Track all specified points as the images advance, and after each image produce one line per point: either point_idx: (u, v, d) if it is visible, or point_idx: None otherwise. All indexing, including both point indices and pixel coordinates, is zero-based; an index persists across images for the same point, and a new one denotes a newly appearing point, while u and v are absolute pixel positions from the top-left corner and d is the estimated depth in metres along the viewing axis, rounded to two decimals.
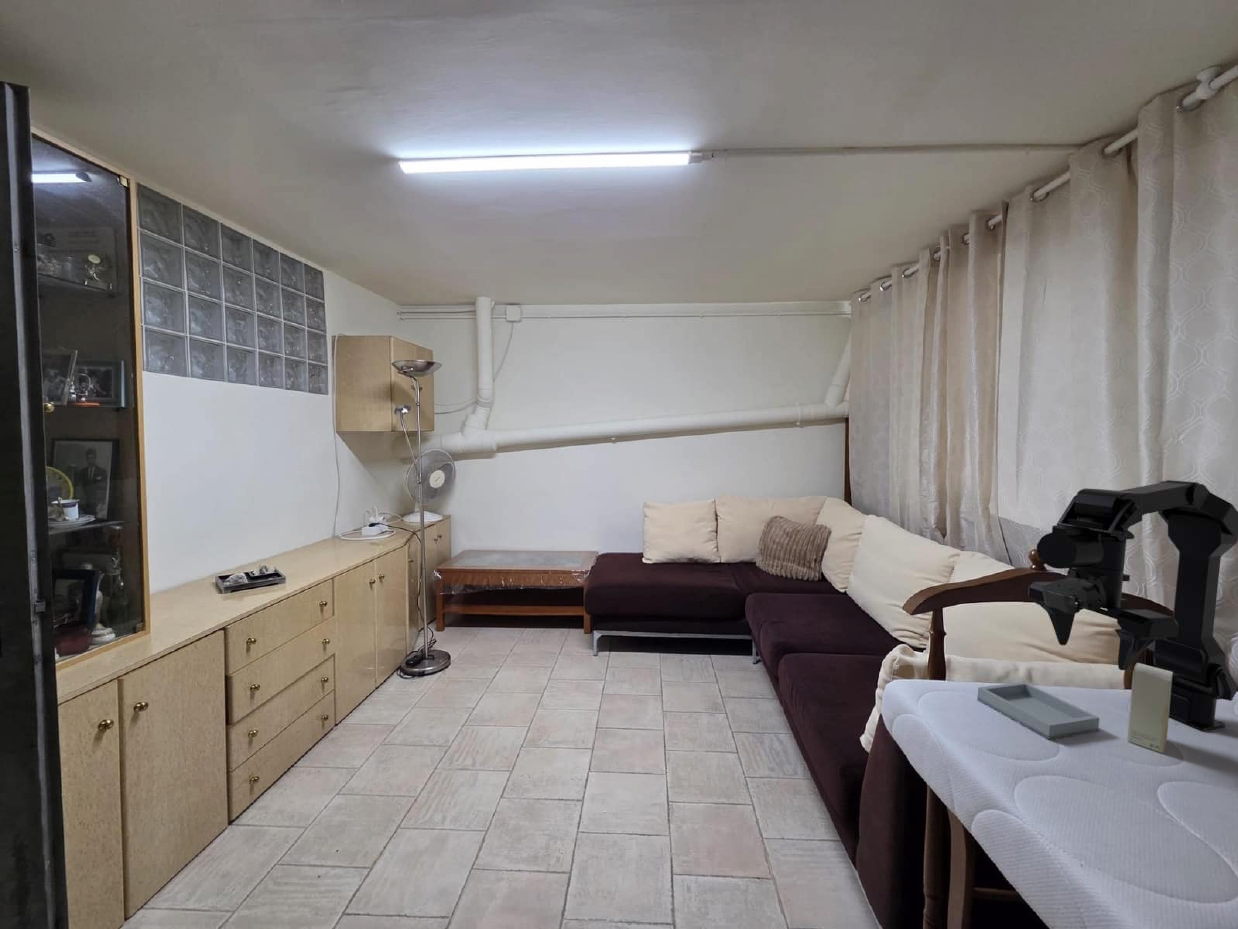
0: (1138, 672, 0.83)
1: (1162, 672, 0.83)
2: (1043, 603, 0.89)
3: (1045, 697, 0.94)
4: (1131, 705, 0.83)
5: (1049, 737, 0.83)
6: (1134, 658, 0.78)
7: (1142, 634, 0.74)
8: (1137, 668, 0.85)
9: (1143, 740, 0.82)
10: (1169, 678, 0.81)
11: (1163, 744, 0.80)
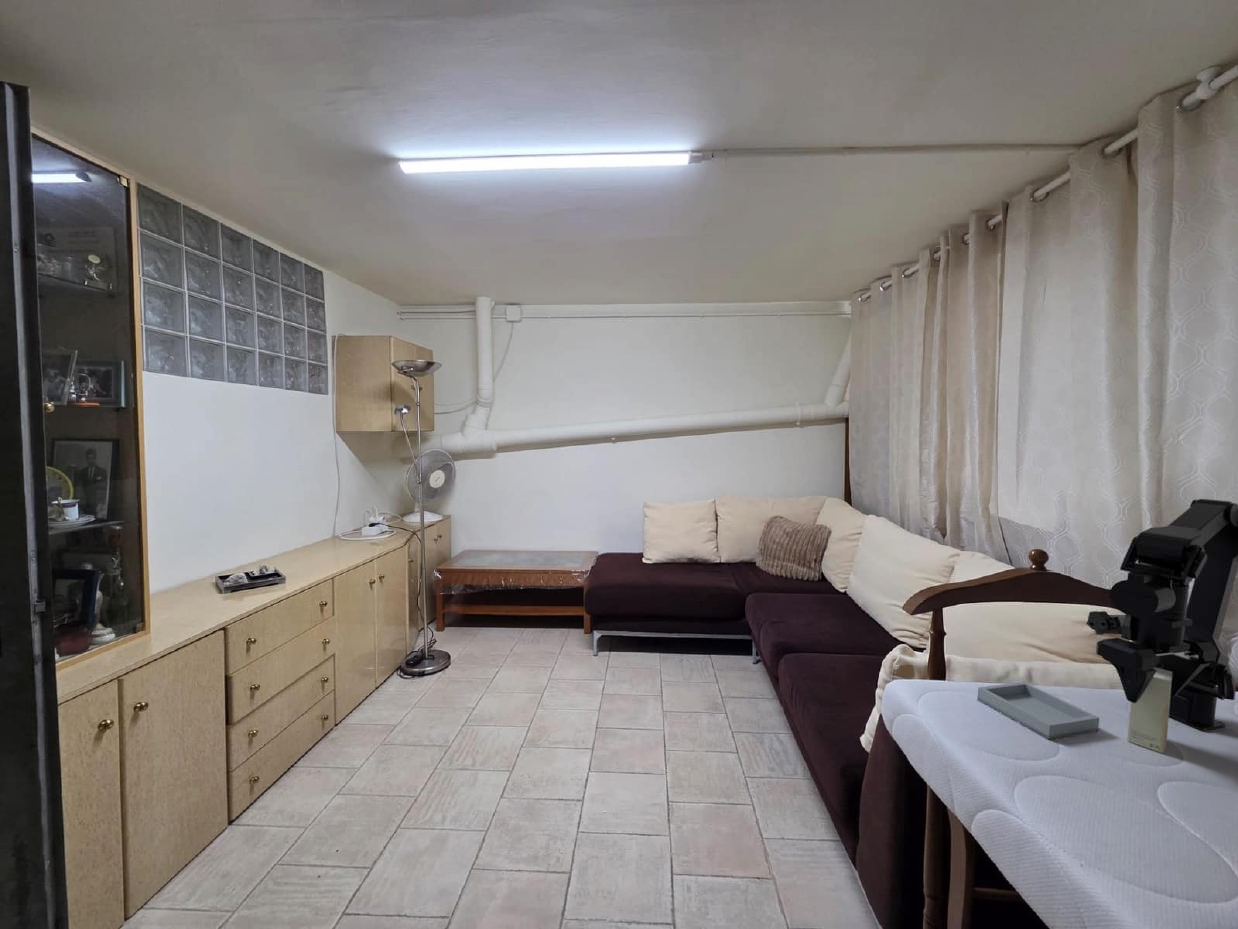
0: None
1: (1161, 672, 0.83)
2: None
3: (1045, 697, 0.94)
4: (1131, 705, 0.83)
5: (1049, 737, 0.83)
6: (1135, 692, 0.81)
7: (1096, 651, 0.84)
8: None
9: (1143, 740, 0.82)
10: (1169, 678, 0.81)
11: (1163, 744, 0.80)
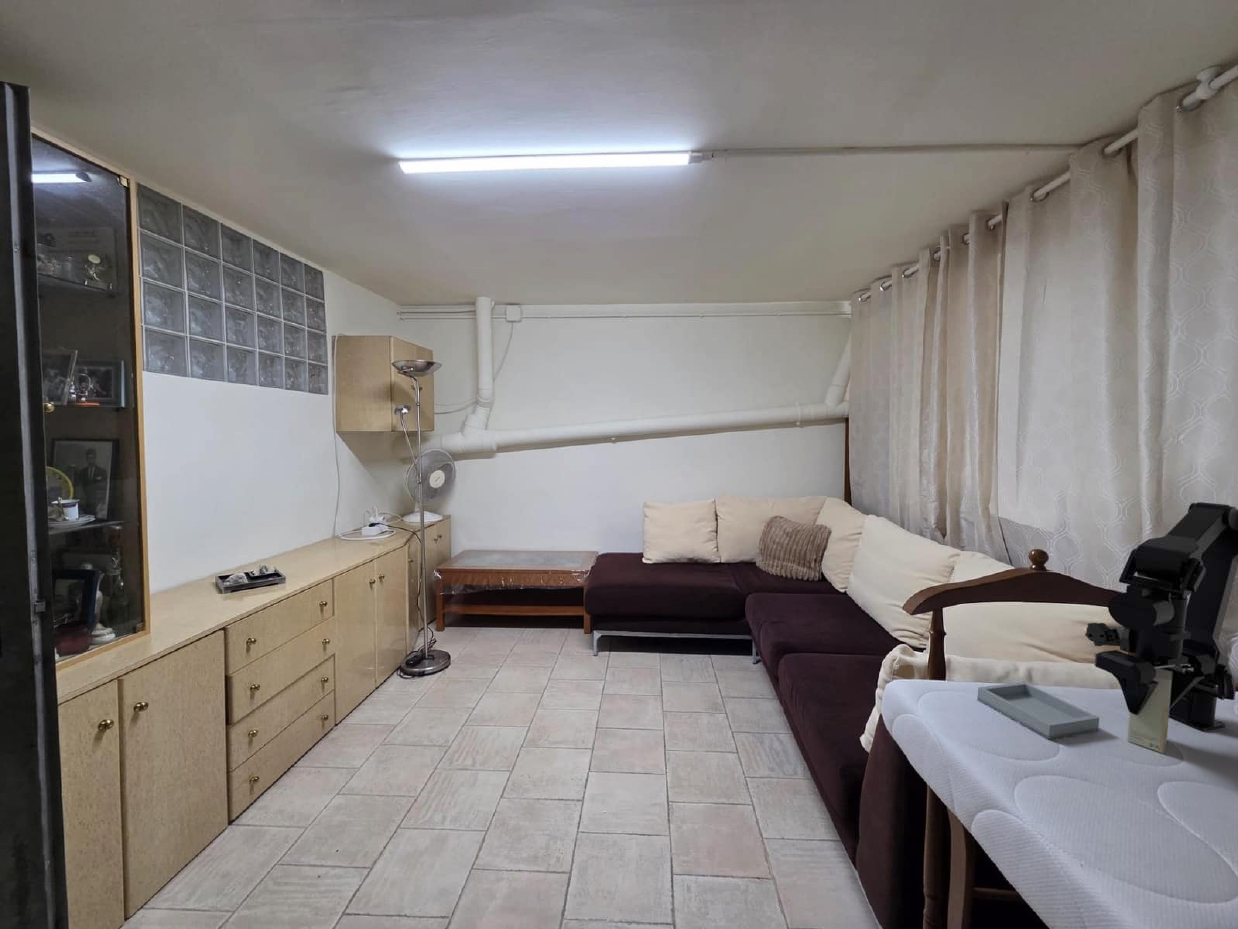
0: None
1: (1161, 672, 0.83)
2: None
3: (1045, 697, 0.94)
4: None
5: (1049, 737, 0.83)
6: (1137, 704, 0.82)
7: (1094, 663, 0.84)
8: None
9: (1143, 740, 0.82)
10: (1169, 678, 0.81)
11: (1163, 744, 0.80)
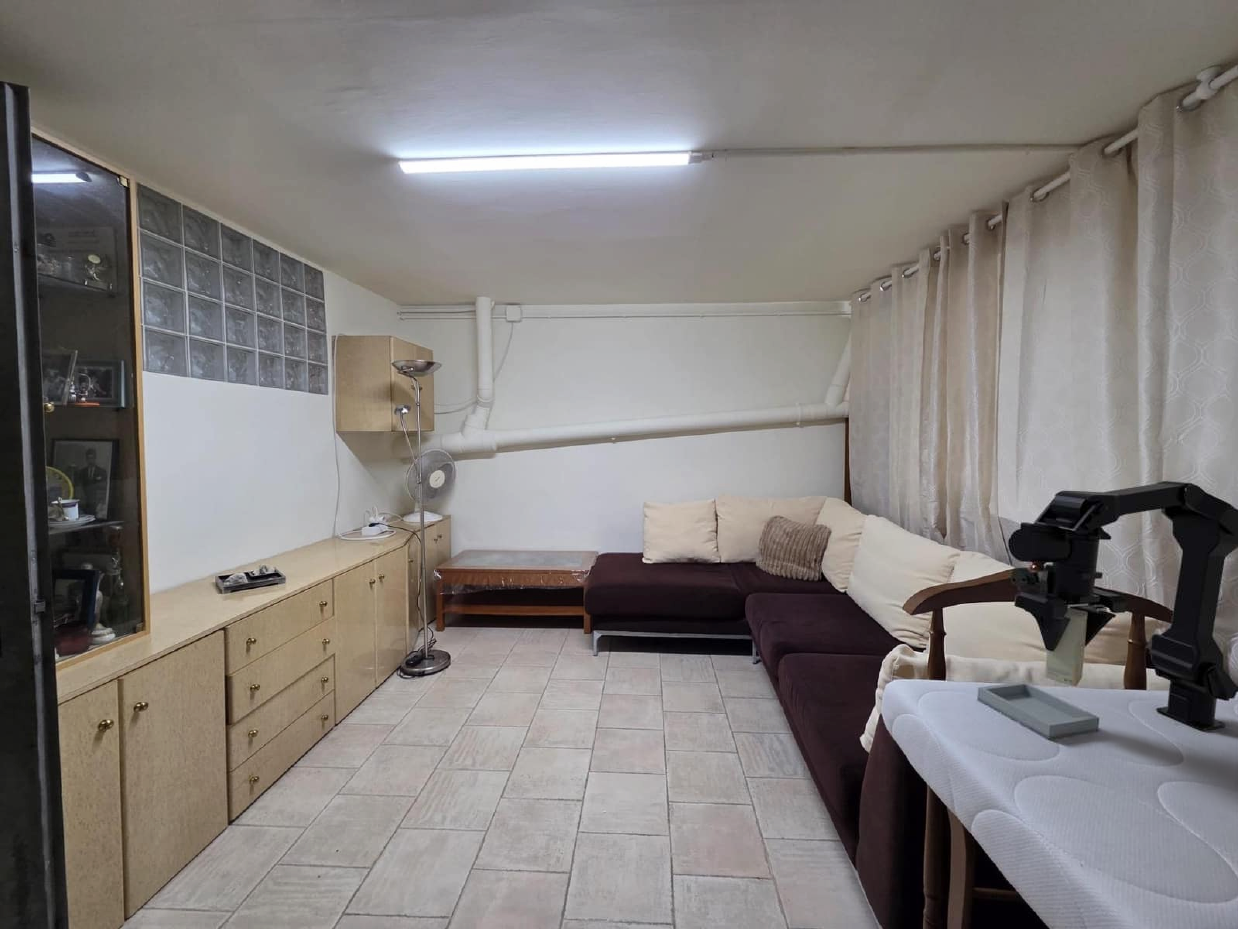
0: None
1: (1077, 612, 0.88)
2: None
3: (1045, 697, 0.94)
4: None
5: (1049, 737, 0.83)
6: (1052, 640, 0.86)
7: (1014, 603, 0.88)
8: None
9: (1058, 675, 0.87)
10: (1082, 616, 0.86)
11: (1075, 678, 0.85)
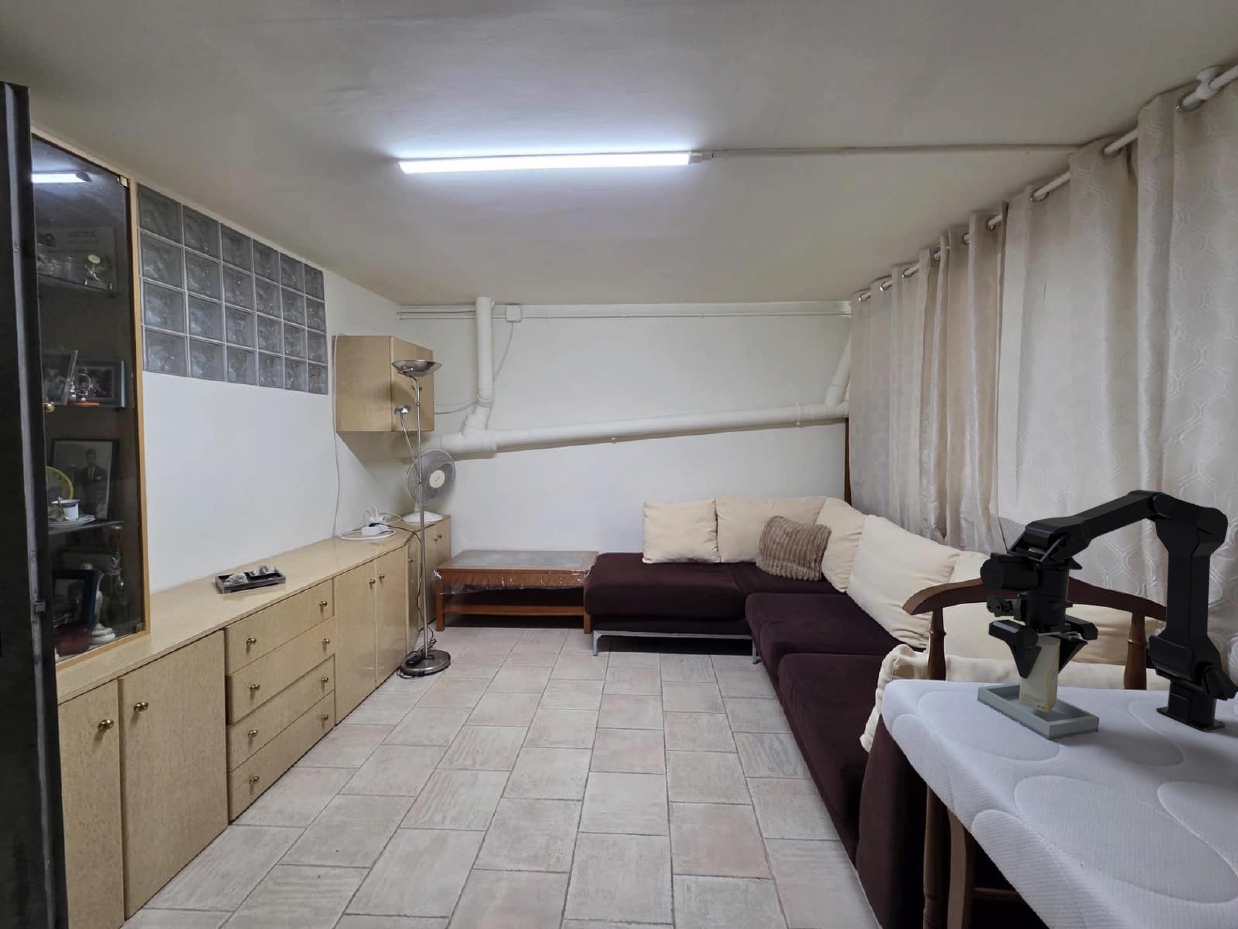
0: None
1: (1049, 639, 0.90)
2: None
3: None
4: None
5: (1049, 737, 0.83)
6: (1025, 668, 0.88)
7: (988, 631, 0.91)
8: None
9: (1032, 702, 0.89)
10: (1054, 644, 0.88)
11: (1048, 705, 0.87)
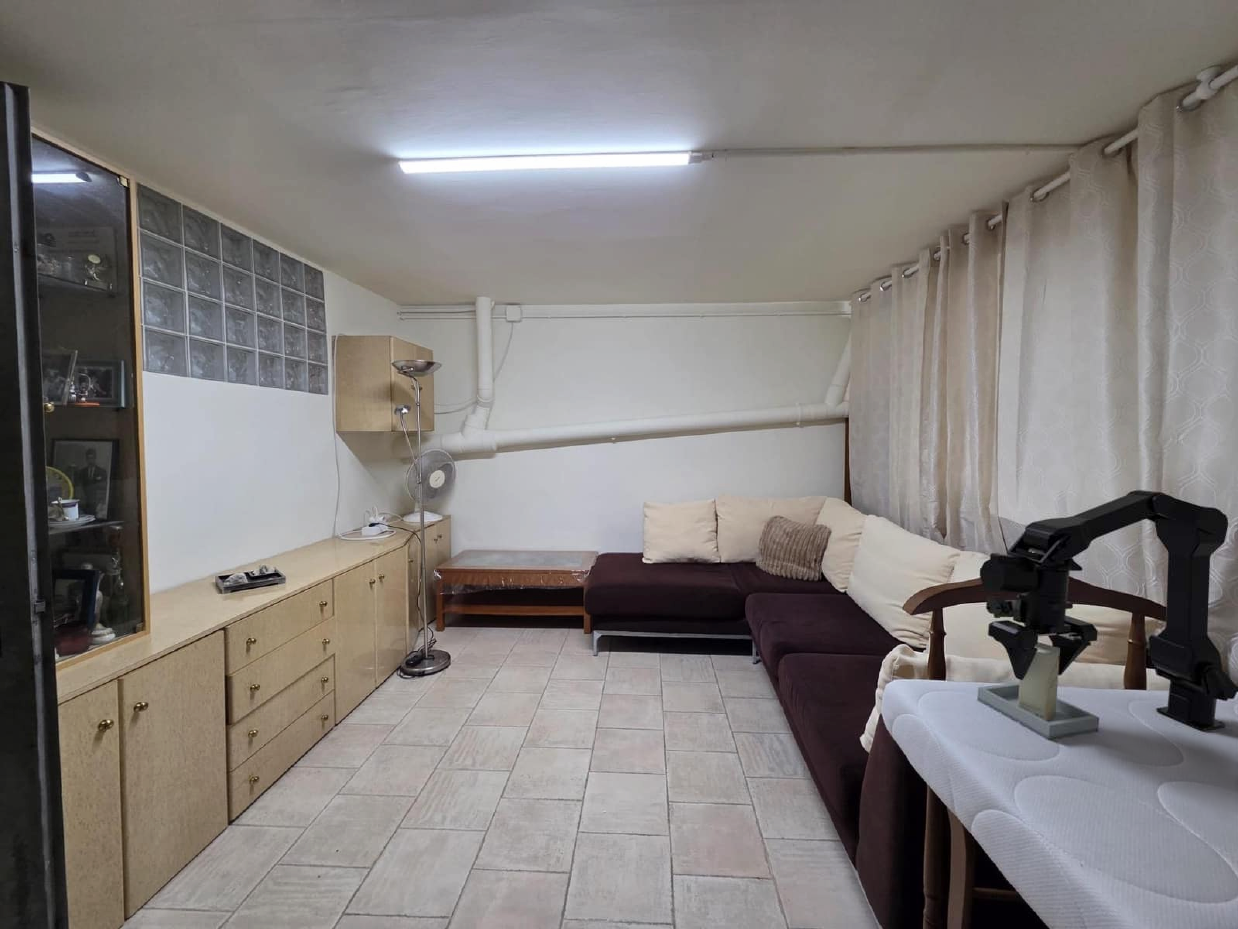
0: None
1: (1049, 648, 0.90)
2: None
3: None
4: None
5: (1049, 737, 0.83)
6: (1021, 669, 0.88)
7: (988, 632, 0.91)
8: None
9: (1030, 710, 0.89)
10: (1053, 653, 0.88)
11: (1046, 713, 0.87)
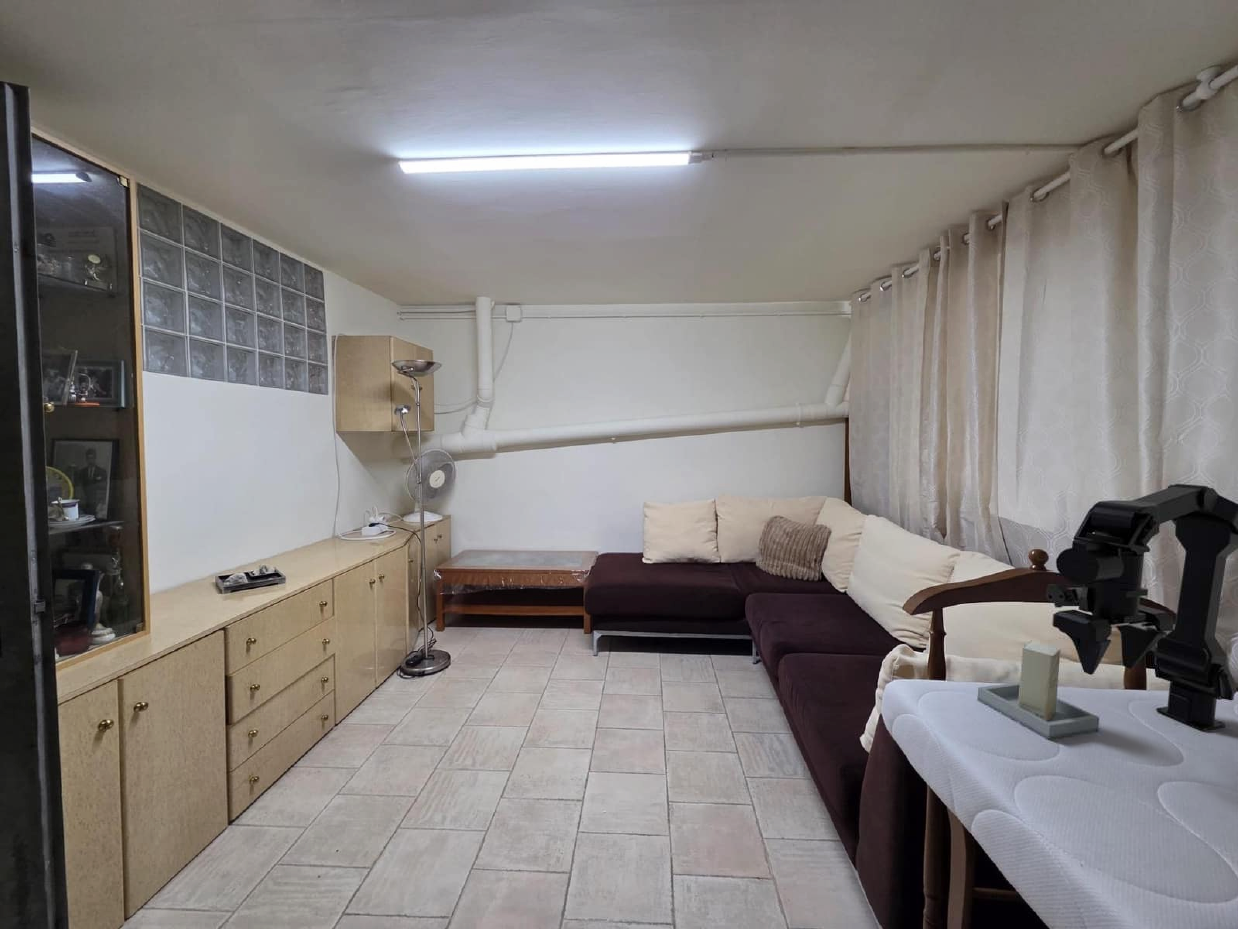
0: (1027, 648, 0.90)
1: (1049, 648, 0.90)
2: None
3: None
4: (1021, 678, 0.90)
5: (1049, 737, 0.83)
6: (1091, 663, 0.80)
7: (1052, 623, 0.83)
8: (1029, 644, 0.91)
9: (1030, 710, 0.89)
10: (1053, 653, 0.88)
11: (1046, 714, 0.87)
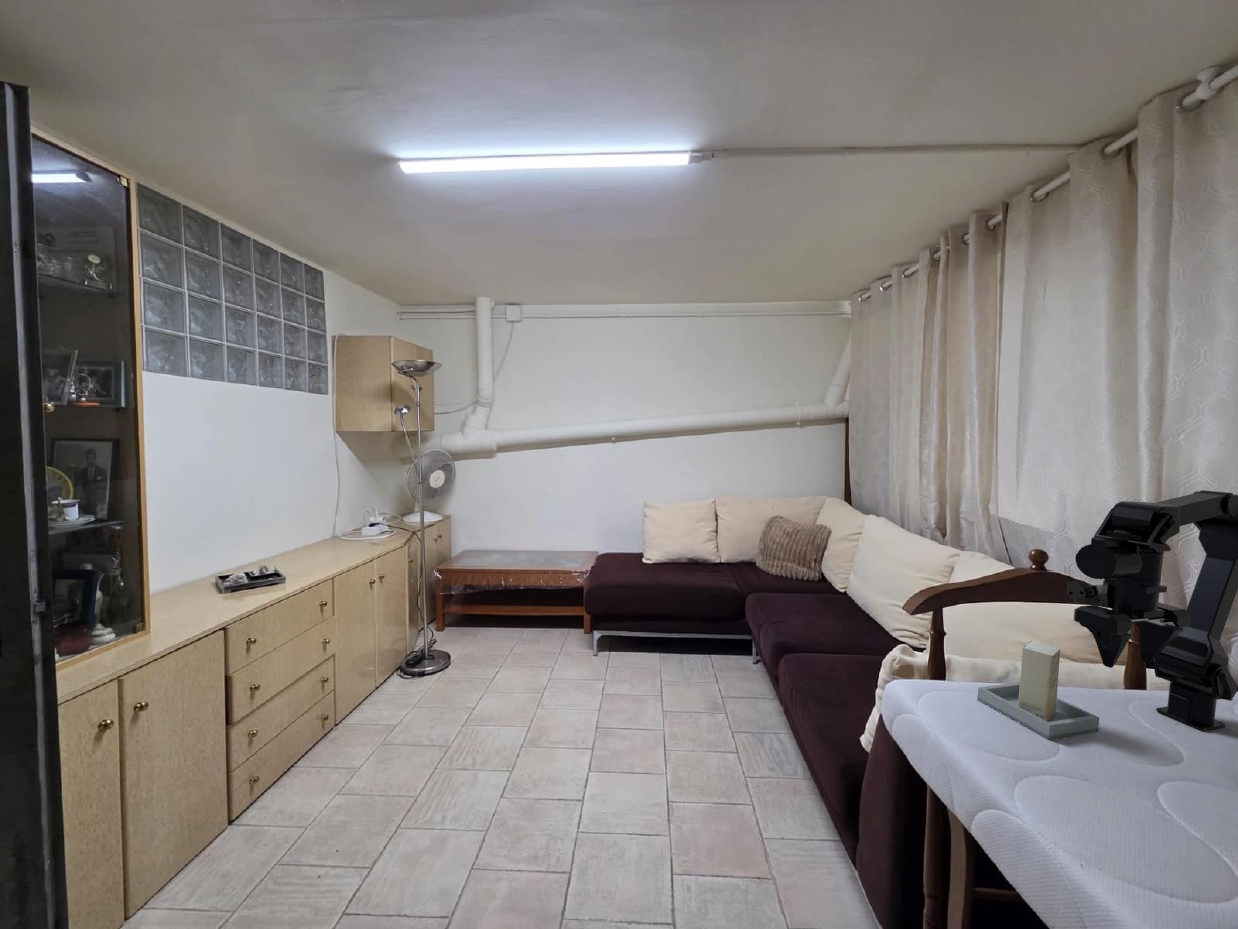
0: (1027, 648, 0.90)
1: (1049, 648, 0.90)
2: None
3: None
4: (1021, 678, 0.90)
5: (1049, 737, 0.83)
6: (1111, 656, 0.84)
7: None
8: (1029, 644, 0.91)
9: (1030, 710, 0.89)
10: (1053, 653, 0.88)
11: (1046, 714, 0.87)
